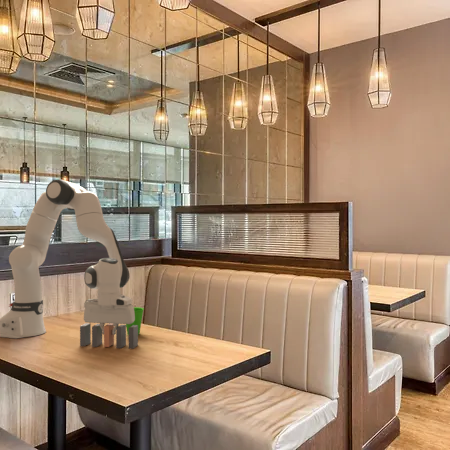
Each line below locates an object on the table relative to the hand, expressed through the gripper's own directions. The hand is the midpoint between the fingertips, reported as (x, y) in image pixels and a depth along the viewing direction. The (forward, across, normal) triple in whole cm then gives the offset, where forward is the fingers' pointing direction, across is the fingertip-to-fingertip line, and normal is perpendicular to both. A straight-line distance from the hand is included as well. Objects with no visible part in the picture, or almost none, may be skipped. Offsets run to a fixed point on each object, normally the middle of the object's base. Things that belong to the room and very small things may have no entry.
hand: (109, 334), depth 180 cm
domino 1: (+5, -10, 0) cm, 11 cm away
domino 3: (+4, 0, 0) cm, 4 cm away
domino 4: (+4, +5, 0) cm, 7 cm away
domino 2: (+5, -5, 0) cm, 7 cm away
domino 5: (+4, +10, 0) cm, 11 cm away
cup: (+5, +3, +19) cm, 20 cm away
